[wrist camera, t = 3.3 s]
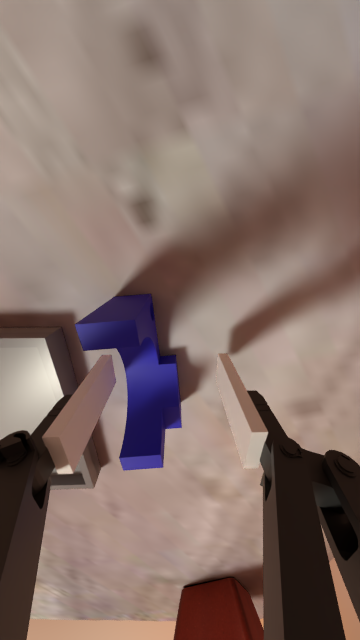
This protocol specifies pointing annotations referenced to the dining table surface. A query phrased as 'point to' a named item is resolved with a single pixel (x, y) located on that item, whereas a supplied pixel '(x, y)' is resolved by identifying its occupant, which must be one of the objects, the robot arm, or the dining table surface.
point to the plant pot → (217, 613)
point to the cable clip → (138, 375)
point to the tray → (40, 391)
